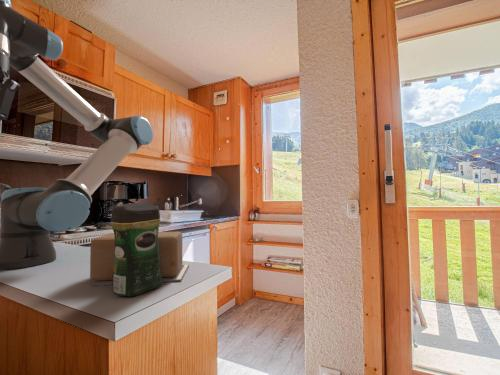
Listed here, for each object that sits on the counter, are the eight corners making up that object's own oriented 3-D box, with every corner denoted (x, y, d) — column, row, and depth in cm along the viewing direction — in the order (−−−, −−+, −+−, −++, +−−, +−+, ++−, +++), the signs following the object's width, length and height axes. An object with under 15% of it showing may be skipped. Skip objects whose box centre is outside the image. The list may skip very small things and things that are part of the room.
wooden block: (88, 282, 57) (176, 278, 59) (88, 239, 57) (176, 236, 60) (107, 270, 67) (182, 266, 69) (107, 233, 67) (182, 230, 70)
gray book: (116, 269, 69) (116, 267, 69) (189, 266, 71) (189, 264, 71) (91, 285, 56) (91, 283, 56) (181, 281, 58) (181, 279, 58)
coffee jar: (147, 277, 60) (146, 201, 60) (167, 285, 55) (166, 202, 55) (105, 292, 52) (104, 203, 52) (124, 302, 47) (123, 205, 47)
